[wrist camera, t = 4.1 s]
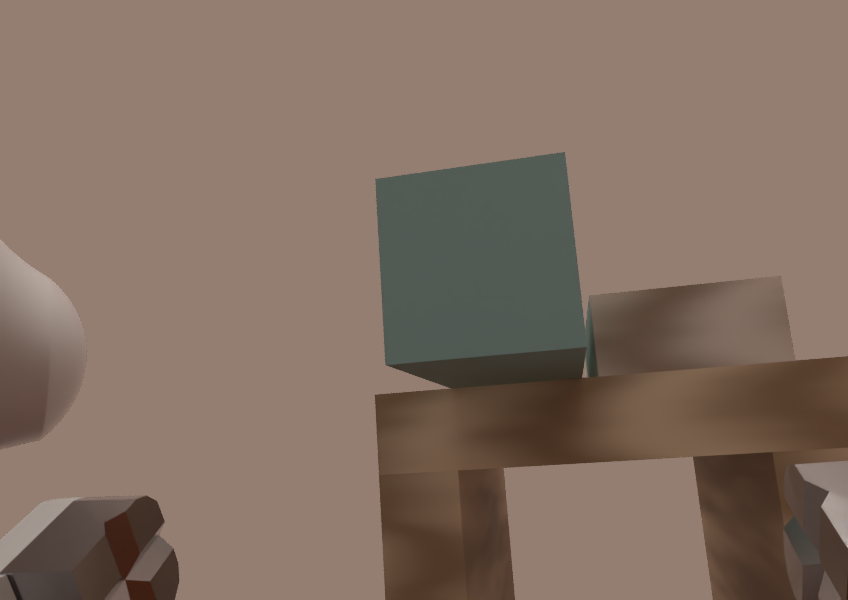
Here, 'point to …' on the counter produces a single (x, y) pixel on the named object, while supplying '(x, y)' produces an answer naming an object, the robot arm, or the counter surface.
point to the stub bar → (481, 274)
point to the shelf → (618, 438)
